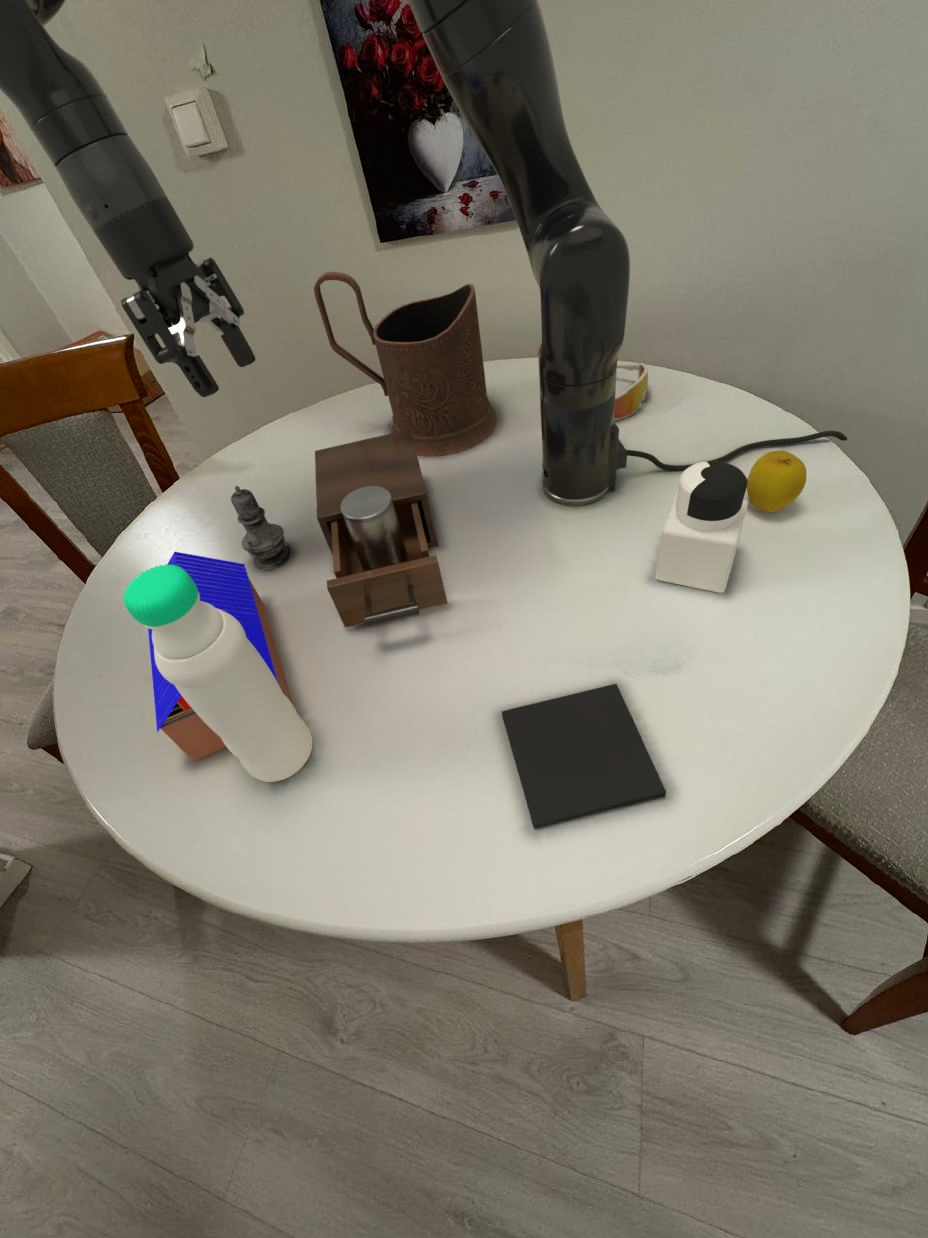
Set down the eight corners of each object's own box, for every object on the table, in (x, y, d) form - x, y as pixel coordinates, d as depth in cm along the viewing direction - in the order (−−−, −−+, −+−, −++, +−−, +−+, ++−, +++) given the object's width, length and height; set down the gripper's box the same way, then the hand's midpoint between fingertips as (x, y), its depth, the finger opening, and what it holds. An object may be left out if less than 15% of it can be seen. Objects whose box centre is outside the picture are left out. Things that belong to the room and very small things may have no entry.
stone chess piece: (283, 572, 79) (246, 501, 70) (245, 570, 80) (204, 500, 71) (299, 543, 83) (266, 472, 74) (262, 542, 84) (226, 471, 75)
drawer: (454, 629, 67) (444, 587, 62) (346, 654, 66) (327, 614, 61) (429, 528, 79) (419, 486, 74) (339, 549, 79) (323, 509, 74)
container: (734, 550, 70) (760, 457, 60) (723, 595, 66) (750, 502, 56) (668, 538, 73) (683, 448, 63) (654, 580, 69) (667, 490, 59)
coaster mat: (615, 688, 60) (616, 683, 59) (665, 796, 52) (666, 792, 51) (502, 716, 59) (501, 711, 59) (533, 829, 51) (533, 824, 51)
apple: (777, 529, 71) (796, 474, 66) (730, 508, 75) (744, 455, 69) (805, 503, 74) (826, 448, 68) (758, 485, 77) (773, 431, 71)
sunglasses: (629, 429, 90) (627, 398, 86) (543, 425, 98) (538, 397, 94) (661, 385, 97) (660, 355, 94) (578, 385, 105) (574, 357, 102)
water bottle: (253, 728, 63) (119, 557, 44) (317, 718, 62) (210, 542, 44) (242, 789, 58) (87, 627, 39) (311, 779, 58) (188, 611, 39)
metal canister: (408, 551, 75) (388, 480, 67) (414, 582, 71) (394, 511, 63) (363, 562, 75) (338, 492, 67) (367, 593, 71) (341, 523, 63)
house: (191, 765, 61) (127, 703, 52) (174, 637, 73) (121, 571, 65) (300, 716, 63) (257, 649, 54) (265, 601, 76) (226, 532, 67)
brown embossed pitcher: (499, 449, 91) (480, 274, 73) (351, 465, 94) (296, 302, 76) (496, 391, 104) (480, 229, 85) (365, 407, 106) (322, 254, 88)
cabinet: (438, 546, 78) (426, 492, 72) (338, 569, 78) (316, 518, 71) (422, 480, 89) (410, 428, 82) (333, 501, 88) (314, 450, 82)
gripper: (108, 207, 48) (225, 395, 57) (197, 182, 58) (284, 345, 68) (49, 242, 51) (170, 415, 60) (144, 212, 61) (235, 364, 70)
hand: (230, 378), depth 64 cm, fingers open, 8 cm apart
